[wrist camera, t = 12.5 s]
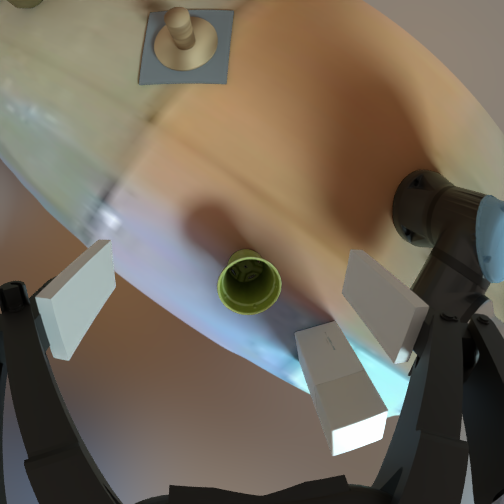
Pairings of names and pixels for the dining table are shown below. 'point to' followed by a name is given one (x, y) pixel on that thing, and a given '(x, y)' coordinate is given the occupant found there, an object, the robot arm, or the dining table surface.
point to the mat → (205, 74)
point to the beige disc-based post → (185, 41)
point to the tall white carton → (340, 389)
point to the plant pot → (248, 283)
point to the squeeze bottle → (25, 3)
